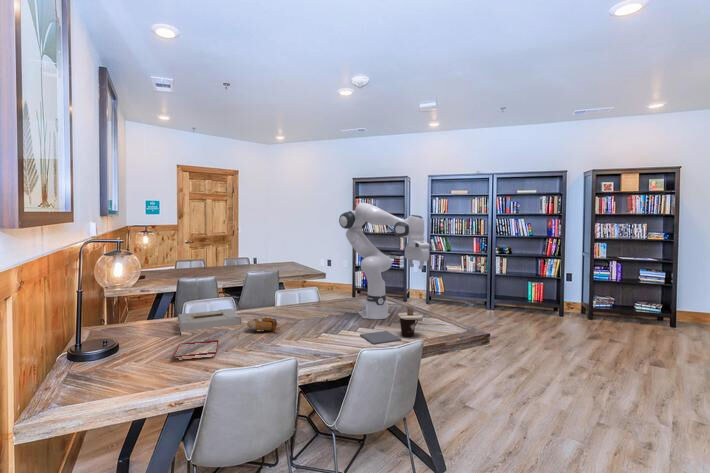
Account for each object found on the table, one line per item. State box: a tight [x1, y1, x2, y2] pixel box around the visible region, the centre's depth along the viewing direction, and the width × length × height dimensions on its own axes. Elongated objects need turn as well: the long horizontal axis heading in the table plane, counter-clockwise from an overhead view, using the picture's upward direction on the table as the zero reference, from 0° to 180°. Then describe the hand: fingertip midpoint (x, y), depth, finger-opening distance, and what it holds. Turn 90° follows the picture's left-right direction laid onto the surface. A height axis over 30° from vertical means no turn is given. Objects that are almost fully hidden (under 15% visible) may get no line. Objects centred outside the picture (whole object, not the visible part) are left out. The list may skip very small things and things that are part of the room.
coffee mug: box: [399, 318, 419, 338], centre depth 208 cm, size 12×9×10 cm
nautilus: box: [246, 315, 282, 333], centre depth 215 cm, size 8×22×15 cm
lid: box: [397, 306, 424, 321], centre depth 208 cm, size 13×13×5 cm
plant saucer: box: [173, 339, 220, 358], centre depth 180 cm, size 18×18×3 cm
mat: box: [359, 330, 402, 345], centre depth 203 cm, size 16×16×1 cm
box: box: [177, 308, 242, 332], centre depth 224 cm, size 23×8×32 cm
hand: (416, 267), depth 222 cm, fingers open, 8 cm apart
